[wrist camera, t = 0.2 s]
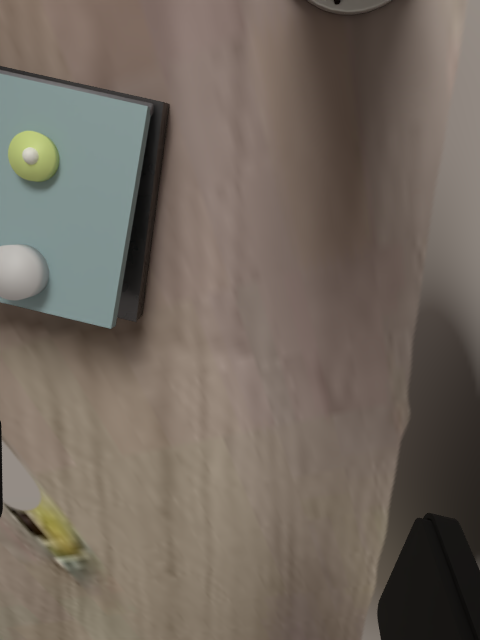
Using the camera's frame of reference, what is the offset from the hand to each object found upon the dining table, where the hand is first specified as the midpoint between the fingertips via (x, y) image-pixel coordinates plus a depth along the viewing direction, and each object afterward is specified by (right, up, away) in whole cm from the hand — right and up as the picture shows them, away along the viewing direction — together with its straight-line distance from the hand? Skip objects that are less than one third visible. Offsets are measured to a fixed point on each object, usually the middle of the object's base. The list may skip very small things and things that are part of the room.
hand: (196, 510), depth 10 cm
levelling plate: (-17, +15, +31) cm, 39 cm away
